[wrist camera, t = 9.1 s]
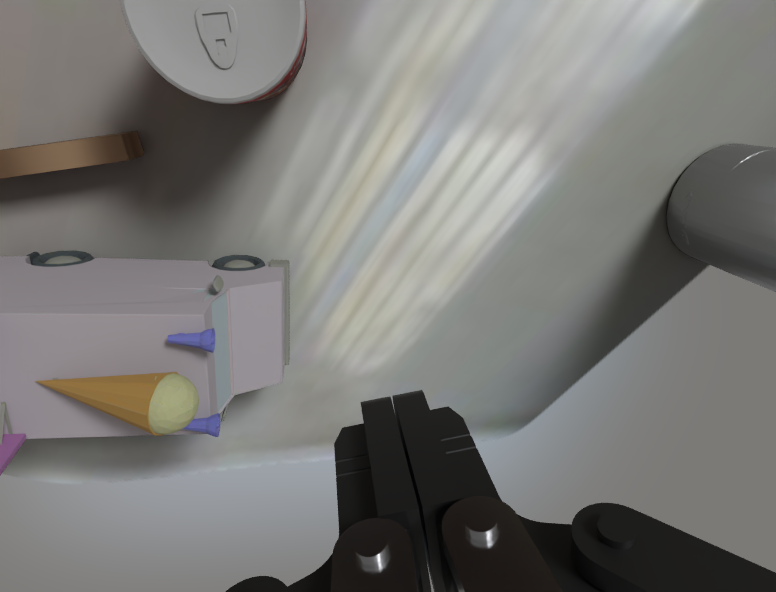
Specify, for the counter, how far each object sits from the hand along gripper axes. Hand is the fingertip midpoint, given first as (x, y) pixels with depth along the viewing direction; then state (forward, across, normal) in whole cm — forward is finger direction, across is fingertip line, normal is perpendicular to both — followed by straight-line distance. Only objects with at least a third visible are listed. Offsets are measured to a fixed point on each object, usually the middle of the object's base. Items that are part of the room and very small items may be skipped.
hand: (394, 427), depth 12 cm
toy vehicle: (+26, +15, +4) cm, 30 cm away
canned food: (+26, +4, -12) cm, 29 cm away
